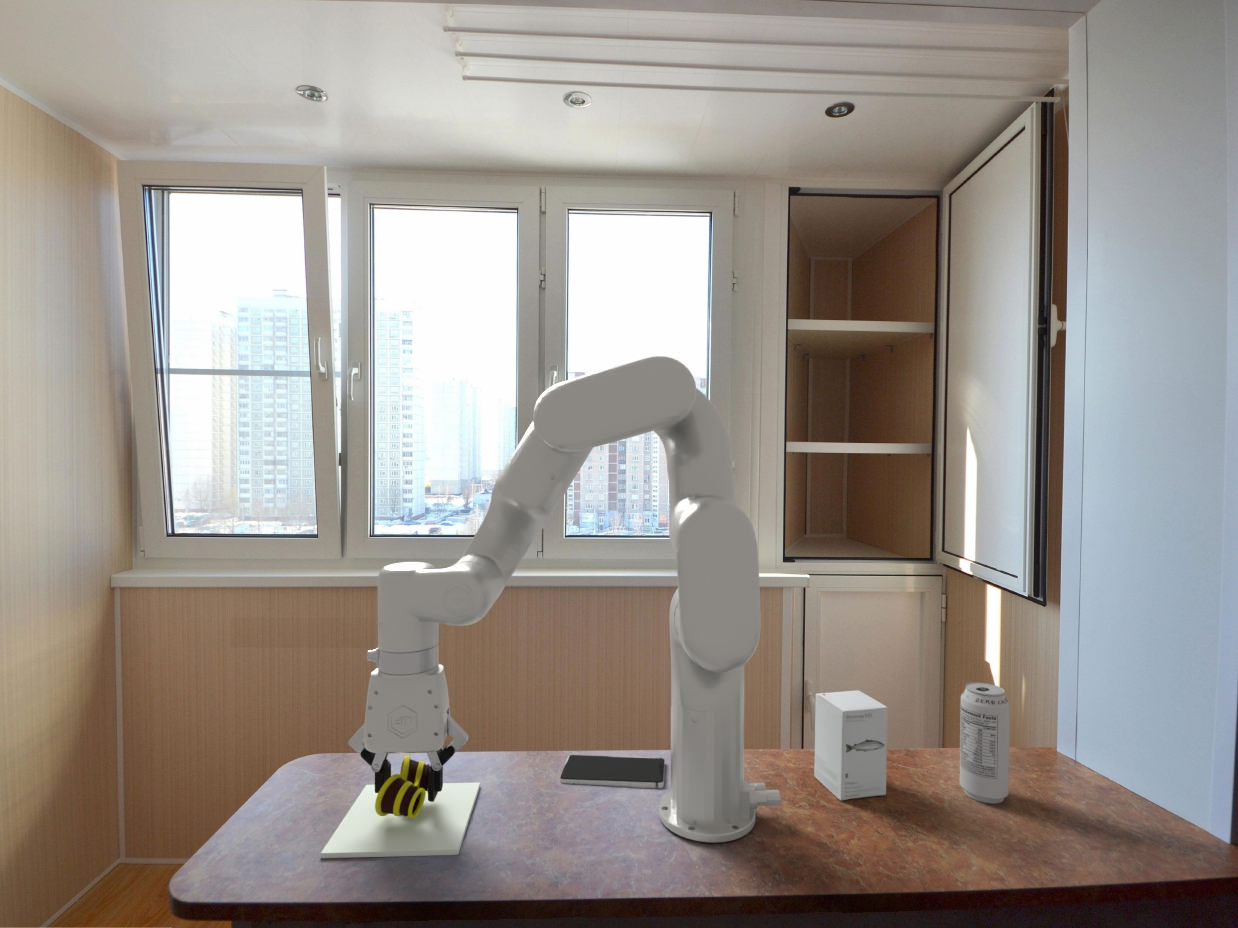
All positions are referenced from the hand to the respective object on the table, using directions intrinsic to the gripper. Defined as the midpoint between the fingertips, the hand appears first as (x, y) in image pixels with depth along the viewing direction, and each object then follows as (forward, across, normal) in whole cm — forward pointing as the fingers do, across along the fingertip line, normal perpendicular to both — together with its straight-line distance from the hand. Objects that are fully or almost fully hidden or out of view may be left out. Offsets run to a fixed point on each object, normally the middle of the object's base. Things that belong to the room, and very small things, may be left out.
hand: (409, 795), depth 86 cm
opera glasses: (+1, 0, 0) cm, 1 cm away
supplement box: (+4, +61, +6) cm, 61 cm away
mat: (+3, 0, 0) cm, 3 cm away
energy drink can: (+4, +79, +3) cm, 79 cm away
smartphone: (+4, +27, +12) cm, 30 cm away
